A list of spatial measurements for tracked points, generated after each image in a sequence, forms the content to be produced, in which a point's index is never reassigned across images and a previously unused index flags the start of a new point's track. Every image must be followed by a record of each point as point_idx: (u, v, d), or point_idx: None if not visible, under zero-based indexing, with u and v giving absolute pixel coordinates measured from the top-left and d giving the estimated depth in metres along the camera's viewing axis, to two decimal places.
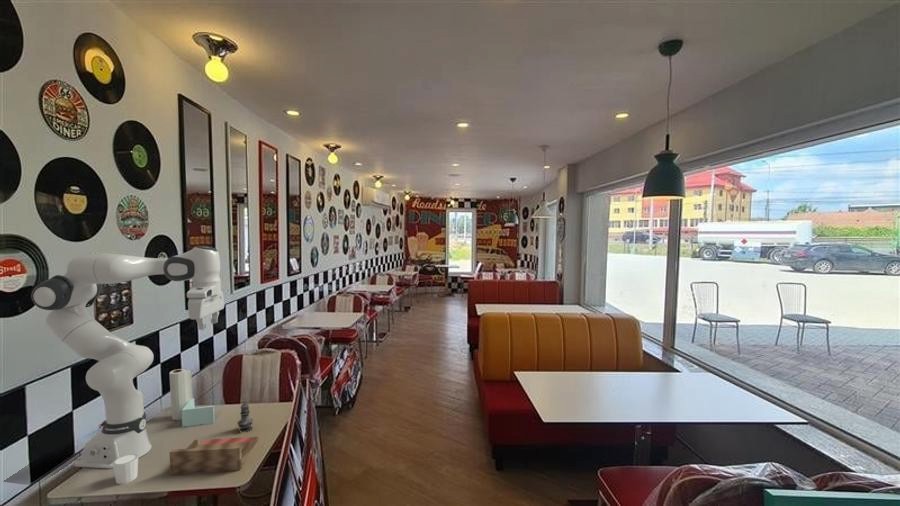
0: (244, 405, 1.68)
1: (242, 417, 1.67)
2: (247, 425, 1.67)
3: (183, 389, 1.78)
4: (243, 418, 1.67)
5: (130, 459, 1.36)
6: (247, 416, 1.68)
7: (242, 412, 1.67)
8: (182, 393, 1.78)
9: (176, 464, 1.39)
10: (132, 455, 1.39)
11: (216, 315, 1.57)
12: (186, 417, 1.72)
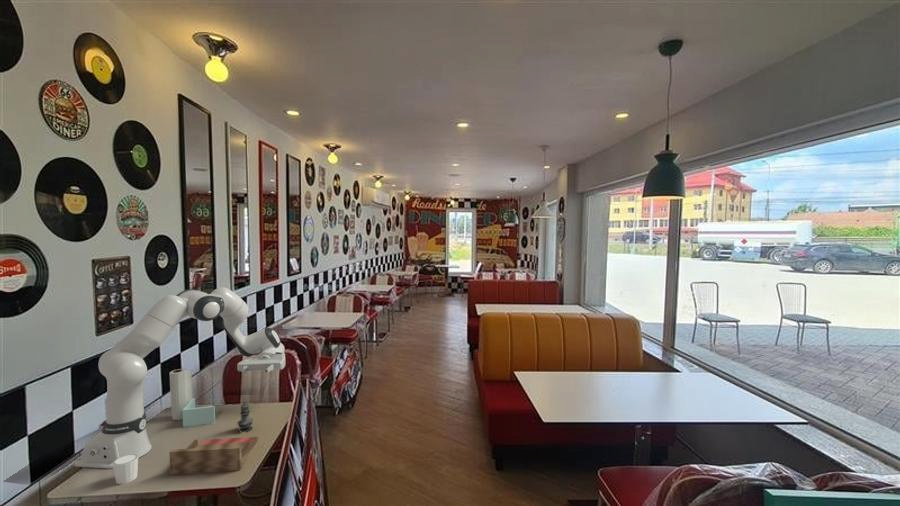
0: (244, 405, 1.68)
1: (242, 417, 1.67)
2: (247, 425, 1.67)
3: (183, 389, 1.78)
4: (243, 418, 1.67)
5: (130, 459, 1.36)
6: (247, 416, 1.68)
7: (242, 412, 1.67)
8: (182, 393, 1.78)
9: (176, 464, 1.39)
10: (132, 455, 1.39)
11: None
12: (187, 417, 1.72)
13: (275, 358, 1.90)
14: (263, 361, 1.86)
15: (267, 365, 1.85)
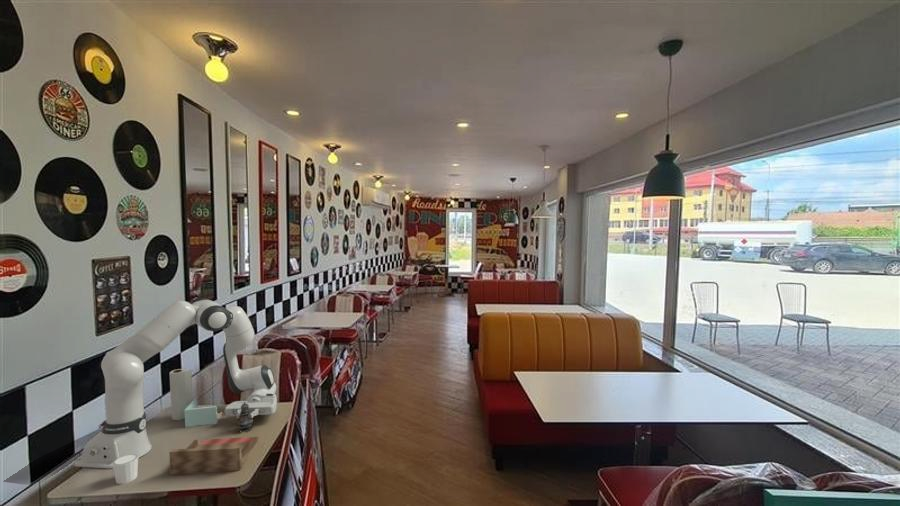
0: (244, 405, 1.68)
1: (242, 417, 1.67)
2: (247, 425, 1.67)
3: (183, 389, 1.78)
4: (243, 418, 1.67)
5: (130, 459, 1.36)
6: (247, 416, 1.68)
7: (242, 412, 1.67)
8: (182, 393, 1.78)
9: (176, 464, 1.39)
10: (132, 455, 1.39)
11: None
12: (189, 417, 1.71)
13: (266, 401, 1.78)
14: (253, 404, 1.75)
15: None
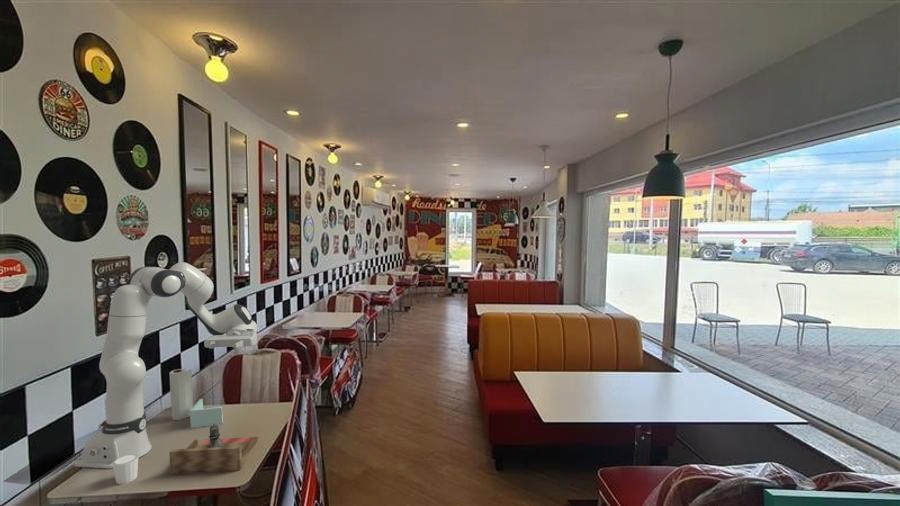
0: (213, 427, 1.47)
1: (211, 441, 1.46)
2: None
3: (183, 389, 1.78)
4: (212, 442, 1.46)
5: (130, 459, 1.36)
6: (217, 440, 1.47)
7: (211, 435, 1.46)
8: (182, 393, 1.78)
9: (176, 464, 1.39)
10: (132, 455, 1.39)
11: None
12: (194, 418, 1.71)
13: (245, 334, 1.79)
14: (232, 337, 1.76)
15: (236, 341, 1.75)
